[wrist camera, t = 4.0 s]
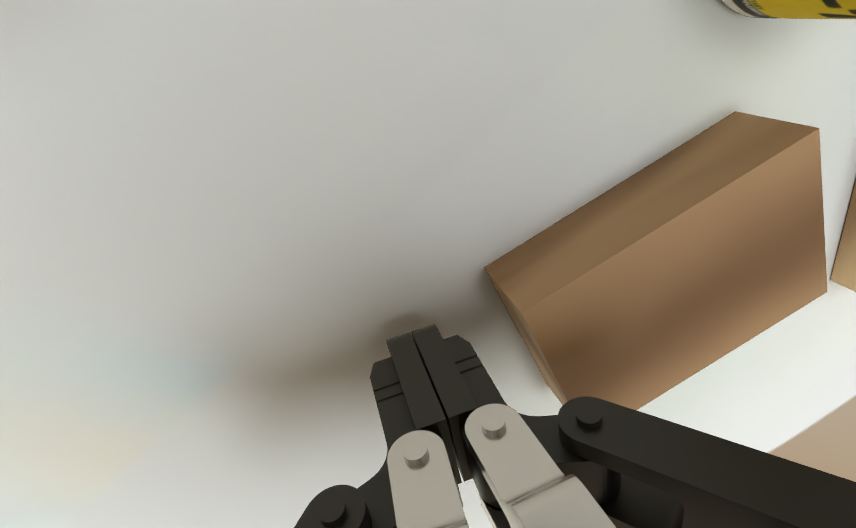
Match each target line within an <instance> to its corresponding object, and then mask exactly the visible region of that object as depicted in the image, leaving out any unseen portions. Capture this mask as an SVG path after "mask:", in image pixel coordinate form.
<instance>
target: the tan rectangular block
mask: <svg viewBox="0 0 856 528" xmlns="http://www.w3.org/2000/svg"><path fill="white" fill-rule="evenodd" d="M831 280H832V281H834V282H836V283H838V284H840V285H842V286H844V287H847V288H849V289H851V290H853V291H855V292H856V182H855V186H854V190H853V194H852V198H851V201H850V205H849V209H848V213H847V217H846V221H845V225H844V229H843V233H842V237H841V241H840V244H839V248H838V252H837V256H836V260H835V264H834V268H833V272H832V276H831Z"/></svg>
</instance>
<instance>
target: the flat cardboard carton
mask: <svg viewBox="0 0 856 528" xmlns="http://www.w3.org/2000/svg"><path fill="white" fill-rule="evenodd" d="M484 269H485V271H486V272H487V274H488V276H489V278H490V280H491V282H492V283H493V285H494V287H495V289H496V291H497V293H498V294H499V296H500V298H501V300H502V302H503V304H504V305H505V307H506V309H507V311H508V313H509V315H510V316H511V318H512V320H513V322H514V324H515V326H516V327H517V329H518V331H519V333H520V335H521V337H522V338H523V340H524V342H525V344H526V346H527V347H528V349H529V351H530V353H531V355H532V357H533V358H534V360H535V362H536V364H537V366H538V368H539V369H540V371H541V373H542V375H543V377H544V379H545V380H546V382H547V384H548V386H549V387H550V389H551V390H552V391H553V393H554V394H555V395H556V397H557V398H558V399H559V401H560V402H561V403H562V405H564V404H565V403H566V402H568V401H569V400H571V399H574V398H577V397H583V396H589V397H596V398H600V399H603V400H606V401H609V402H612V403H615V404H618V405H621V406H624V407H627V408H630V409H633V410H637V409H639V408H641V407H642V406H644V405H645V404H647V403H649V402H650V401H652V400H653V399H655V398H657V397H658V396H660V395H662V394H663V393H665V392H666V391H668V390H670V389H671V388H673V387H674V386H676V385H678V384H679V383H681V382H682V381H684V380H686V379H687V378H689V377H691V376H692V375H694V374H695V373H697V372H699V371H700V370H702V369H703V368H705V367H707V366H708V365H710V364H712V363H713V362H715V361H716V360H718V359H720V358H721V357H723V356H724V355H726V354H728V353H729V352H731V351H733V350H734V349H736V348H737V347H739V346H741V345H742V344H744V343H745V342H747V341H749V340H750V339H752V338H753V337H755V336H757V335H758V334H760V333H762V332H763V331H765V330H766V329H768V328H770V327H771V326H773V325H774V324H776V323H778V322H779V321H781V320H783V319H784V318H786V317H787V316H789V315H791V314H792V313H794V312H795V311H797V310H799V309H800V308H802V307H804V306H805V305H807V304H808V303H810V302H812V301H813V300H815V299H816V298H818V297H820V296H821V295H823V294H824V293H826V292H827V276H826V256H825V236H824V216H823V196H822V176H821V156H820V136H819V128H816V127H811V126H806V125H801V124H796V123H790V122H785V121H780V120H775V119H770V118H765V117H760V116H755V115H750V114H745V113H740V112H734V113H732V114H731V115H729V116H728V117H726V118H724V119H723V120H721V121H720V122H718V123H716V124H715V125H713V126H711V127H710V128H708V129H707V130H705V131H703V132H702V133H700V134H699V135H697V136H695V137H694V138H692V139H691V140H689V141H687V142H686V143H684V144H682V145H681V146H679V147H678V148H676V149H674V150H673V151H671V152H670V153H668V154H666V155H665V156H663V157H662V158H660V159H658V160H657V161H655V162H653V163H652V164H650V165H649V166H647V167H645V168H644V169H642V170H641V171H639V172H637V173H636V174H634V175H633V176H631V177H629V178H628V179H626V180H624V181H623V182H621V183H620V184H618V185H616V186H615V187H613V188H612V189H610V190H608V191H607V192H605V193H604V194H602V195H600V196H599V197H597V198H595V199H594V200H592V201H591V202H589V203H587V204H586V205H584V206H583V207H581V208H579V209H578V210H576V211H575V212H573V213H571V214H570V215H568V216H566V217H565V218H563V219H562V220H560V221H558V222H557V223H555V224H554V225H552V226H550V227H549V228H547V229H546V230H544V231H542V232H541V233H539V234H537V235H536V236H534V237H533V238H531V239H529V240H528V241H526V242H525V243H523V244H521V245H520V246H518V247H517V248H515V249H513V250H512V251H510V252H508V253H507V254H505V255H504V256H502V257H500V258H499V259H497V260H496V261H494V262H492V263H491V264H489V265H488V266H486V267H484Z"/></svg>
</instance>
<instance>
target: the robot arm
mask: <svg viewBox="0 0 856 528" xmlns="http://www.w3.org/2000/svg"><path fill="white" fill-rule="evenodd" d="M411 333H412V337H411V334H410V333H407V334H404V335H401V336H398V337H395V338H392V339H389V340H386V341H387V345H388V348H389V352H390V355H391V357H390V358H387V359H384V360H381V361H378V362H375V363H374V365H373V368H372V372H371V375H370V379H371V383H372V387H373V391H374V395H375V399H376V402H377V407H378V410H379V414H380V418H381V422H382V426H383V430H384V434H385V438H386V442H387V447H388V451H387V457H386V460H385V462H384V464H383V466H382V468H381V469H380V470H379V472H378V473H377V474H376V475H375V476H374V477H372V478H371V479H370V480H369V481H367V482H366V483H365V484H363V485H362V486H360V487H359V488H358V489H356V488H354V487H352V486H349V485H336V486H333V487H330V488H327V489H325V490H324V491H322V492H321V493H319V494H318V495H317V496H316V497H315V498H314V499H313V500H312V501H311V502H310V503H309V505H308V506H307V508H306V509H305V511H304V513H303V514H302V516H301V518H300V519H299V521H298V522H297V524H296V526H295V527H294V528H469V526H468V523H467V520H466V518H465V514H464V511H463V503H462V499H461V496H460V492H459V488H458V484H460V483H462V482H461V478H460V474H459V470H460V473H461V475H462V478H463V480H464V481H467V480H470V479H472V478H473V480H474V482H475V484H476V487H477V489H478V491H479V496H480V500H481V505H482V507H483V509H484V511H485V513H486V515H487V517H488V519H489V521H490V523H491V525H492V527H493V528H856V482H853V481H850V480H848V479H845V478H841V477H838V476H835V475H832V474H829V473H826V472H823V471H820V470H817V469H814V468H811V467H808V466H805V465H801V464H798V463H796V462H792V461H789V460H786V459H783V458H780V457H777V456H774V455H771V454H768V453H765V452H762V451H759V450H756V449H753V448H750V447H747V446H743V445H740V444H737V443H734V442H731V441H728V440H725V439H722V438H719V437H716V436H713V435H710V434H707V433H704V432H701V431H698V430H694V429H691V428H688V427H685V426H682V425H679V424H676V423H673V422H670V421H667V420H664V419H661V418H658V417H655V416H652V415H649V414H645V413H642V412H639V411H636V410H633V409H630V408H627V407H624V406H621V405H618V404H615V403H612V402H609V401H606V400H603V399H600V398H596V397H589V396H583V397H577V398H574V399H571V400H569V401H568V402H566V403H565V404H564V405H563V406H562V407H561V409H560V411H559V414H558V415H551V416H527V415H523V414H520V413H518V412H517V411H515V410H514V409H513V408H511V407H509V406H508V405H507V404H506V403H505V402H504V400H503V398H502V397H501V395H500V393H499V392H498V390H497V388H496V386H495V385H494V383H493V381H492V380H491V378H490V376H489V375H488V373H487V371H486V369H485V368H484V367H483V365H482V363H481V361H480V359H479V358H478V357H477V354H476V353H475V351H474V349H473V347H472V346H471V344H470V343H469V342H468V341H466V340H464V339H463V338H461V337H460V336H458V335H455V336H452V337H449V338H447V339H444V340H443V339H442V337H441V335H440V333H439V331H438V329H437V327H436V325H435V324H434V325H431V326H428V327H425V328H422V329H419V330H416V331H413V332H411ZM412 338H413V339H412ZM457 465H458V466H457ZM458 468H459V470H458Z"/></svg>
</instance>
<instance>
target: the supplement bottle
mask: <svg viewBox="0 0 856 528" xmlns="http://www.w3.org/2000/svg"><path fill="white" fill-rule="evenodd" d="M722 1H723V2H724V3H725V4H726V5H727V6H728V7H730V8H731V9H732V10H734V11H736V12H737V13H740V14H742V15H745V16H748V17H754V18H790V19H856V0H722Z"/></svg>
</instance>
